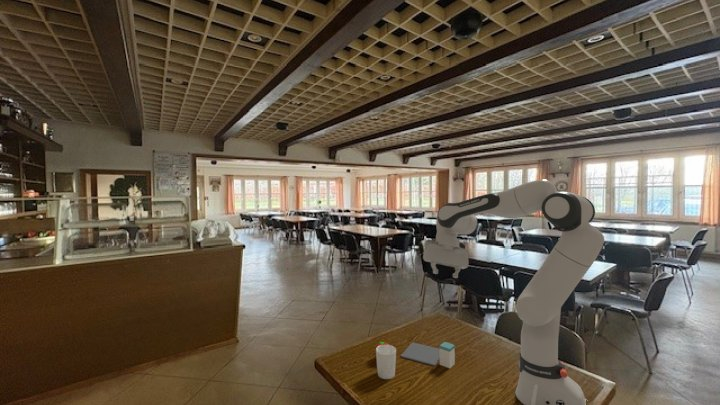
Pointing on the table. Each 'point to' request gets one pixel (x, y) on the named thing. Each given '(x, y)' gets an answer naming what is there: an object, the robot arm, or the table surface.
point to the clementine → (382, 343)
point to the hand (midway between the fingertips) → (445, 275)
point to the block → (447, 354)
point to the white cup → (386, 361)
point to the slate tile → (422, 354)
